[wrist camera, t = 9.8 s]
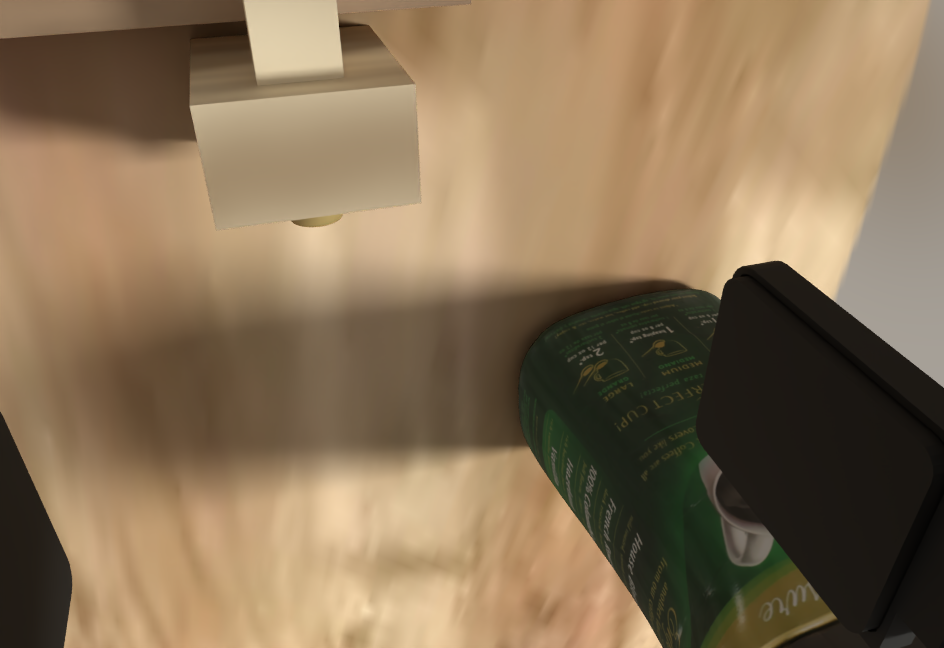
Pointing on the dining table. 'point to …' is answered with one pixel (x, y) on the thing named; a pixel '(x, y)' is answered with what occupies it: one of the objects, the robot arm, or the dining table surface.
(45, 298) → the dining table surface
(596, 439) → the coffee jar
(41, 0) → the walnut board
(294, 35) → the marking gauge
